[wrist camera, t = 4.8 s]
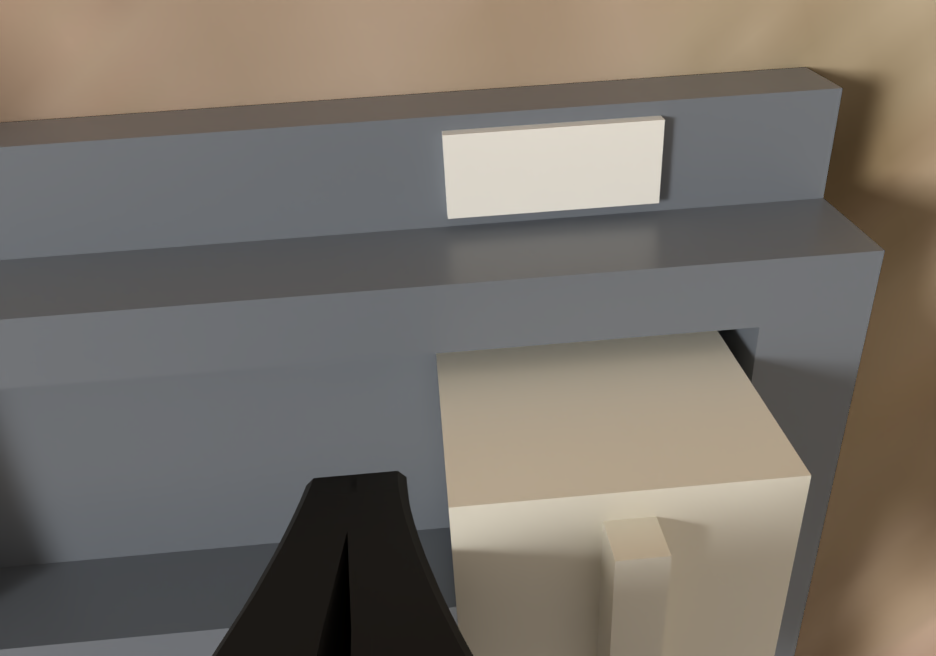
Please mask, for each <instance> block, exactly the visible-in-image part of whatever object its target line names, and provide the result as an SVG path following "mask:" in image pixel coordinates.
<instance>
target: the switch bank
mask: <svg viewBox="0 0 936 656" xmlns="http://www.w3.org/2000/svg"><path fill="white" fill-rule="evenodd" d="M842 89H843V88H842V87H840V86H838V85H836V84H834V83H833V82H831V81H829V80H827V79H826V78H824V77H822V76H820V75H819V74H817V73H815V72H813V71H812V70H810V69H808V68H806V67H801V68H786V69H772V70H757V71H743V72H728V73H714V74H699V75H685V76H670V77H656V78H641V79H627V80H612V81H598V82H583V83H569V84H554V85H540V86H525V87H511V88H496V89H482V90H467V91H453V92H438V93H424V94H409V95H395V96H380V97H366V98H351V99H337V100H322V101H308V102H293V103H279V104H264V105H250V106H235V107H221V108H206V109H192V110H177V111H163V112H148V113H134V114H119V115H105V116H90V117H76V118H61V119H47V120H32V121H18V122H3V123H0V656H212V655H213V653H214V652H215V650H216V649H217V647H218V645H219V644H220V642H221V641H222V639H223V638H224V636H225V635H226V633H227V632H228V630H229V628H230V627H231V625H232V624H233V622H234V621H235V619H236V618H237V616H238V615H239V613H240V611H241V610H242V608H243V607H244V605H245V603H246V602H247V600H248V598H249V597H250V595H251V593H252V591H253V590H254V588H255V586H256V584H257V583H258V581H259V579H260V577H261V576H262V574H263V572H264V570H265V569H266V567H267V565H268V563H269V562H270V560H271V558H272V556H273V554H274V553H275V551H276V549H277V547H278V545H279V543H280V541H281V539H282V537H283V535H284V533H285V531H286V529H287V527H288V525H289V523H290V521H291V519H292V517H293V515H294V513H295V511H296V508H297V506H298V504H299V502H300V499H301V497H302V495H303V492H304V490H305V487H306V485H307V484H308V483H309V482H310V481H311V480H312V479H313V478H320V477H332V476H343V475H355V474H366V473H378V472H389V471H399V472H400V473H402V474H403V475H404V476H406V477H407V486H408V495H409V504H410V508H411V512H412V516H413V520H414V523H415V526H416V529H417V532H418V536H419V539H420V542H421V544H422V547H423V550H424V552H425V555H426V558H427V560H428V563H429V565H430V567H431V570H432V572H433V574H434V577H435V579H436V581H437V584H438V586H439V588H440V591H441V593H442V595H443V597H444V599H445V602H446V604H447V606H448V608H449V610H450V612H451V614H452V616H453V618H454V620H455V622H456V624H457V626H458V620H457V608H456V595H455V583H454V570H453V558H452V545H451V533H450V521H449V508H448V496H447V483H446V471H445V458H444V446H443V433H442V421H441V408H440V396H439V383H438V371H437V359H436V354H437V353H449V352H462V351H474V350H486V349H498V348H511V347H523V346H535V345H547V344H560V343H572V342H584V341H597V340H609V339H621V338H633V337H646V336H658V335H670V334H683V333H695V332H707V331H718V332H719V334H720V335H721V337H722V339H723V340H724V342H725V343H726V345H727V346H728V348H729V349H730V351H731V352H732V354H733V355H734V357H735V359H736V360H737V362H738V363H739V365H740V366H741V368H742V369H743V371H744V372H745V374H746V375H747V377H748V379H749V380H750V382H751V383H752V385H753V386H754V388H755V389H756V391H757V392H758V394H759V395H760V397H761V399H762V400H763V402H764V403H765V405H766V406H767V408H768V409H769V411H770V412H771V414H772V415H773V417H774V419H775V420H776V422H777V423H778V425H779V426H780V428H781V429H782V431H783V432H784V434H785V436H786V437H787V439H788V440H789V442H790V443H791V445H792V446H793V448H794V449H795V451H796V452H797V454H798V456H799V457H800V459H801V460H802V462H803V463H804V465H805V466H806V468H807V469H808V471H809V472H810V474H811V480H810V485H809V490H808V495H807V500H806V504H805V509H804V514H803V519H802V524H801V529H800V534H799V538H798V543H797V548H796V553H795V558H794V563H793V568H792V573H791V577H790V582H789V587H788V592H787V597H786V602H785V607H784V611H783V616H782V621H781V626H780V631H779V636H778V641H777V646H776V650H775V655H774V656H794V655H795V650H796V646H797V641H798V637H799V632H800V628H801V623H802V619H803V614H804V610H805V605H806V601H807V596H808V592H809V587H810V583H811V579H812V574H813V570H814V565H815V561H816V556H817V552H818V547H819V543H820V538H821V534H822V529H823V525H824V520H825V516H826V511H827V507H828V502H829V498H830V494H831V489H832V485H833V480H834V476H835V471H836V467H837V462H838V458H839V453H840V449H841V444H842V440H843V435H844V431H845V426H846V422H847V418H848V413H849V409H850V404H851V400H852V395H853V391H854V386H855V382H856V377H857V373H858V368H859V364H860V359H861V355H862V350H863V346H864V342H865V337H866V333H867V328H868V324H869V319H870V315H871V310H872V306H873V301H874V297H875V292H876V288H877V283H878V279H879V274H880V270H881V265H882V261H883V257H884V252H885V250H884V249H882V248H881V247H880V246H879V245H878V244H877V243H875V242H874V241H873V240H872V239H871V238H870V237H868V236H867V235H866V234H865V233H864V232H862V231H861V230H860V229H859V228H858V227H857V226H855V225H854V224H853V223H852V222H851V221H850V220H848V219H847V218H846V217H845V216H844V215H843V214H841V213H840V212H839V211H838V210H837V209H835V208H834V207H833V206H832V205H831V204H830V203H828V202H827V201H826V200H825V199H824V198H823V197H824V191H825V185H826V180H827V174H828V168H829V163H830V157H831V151H832V146H833V140H834V134H835V129H836V123H837V117H838V112H839V106H840V100H841V95H842Z"/></svg>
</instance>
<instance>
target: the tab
mask: <svg viewBox="0 0 936 656" xmlns="http://www.w3.org/2000/svg"><path fill="white" fill-rule="evenodd" d="M436 359H437V371H438V383H439V396H440V408H441V421H442V433H443V446H444V458H445V471H446V483H447V496H448V508H449V521H450V533H451V545H452V558H453V570H454V583H455V595H456V608H457V620H458V628H459V630H460V632H461V634H462V635H463V637H464V639H465V641H466V643H467V645H468V647H469V649H470V650H471V652H472V654H473V656H774V655H775V650H776V646H777V641H778V636H779V631H780V626H781V621H782V616H783V611H784V607H785V602H786V597H787V592H788V587H789V582H790V577H791V573H792V568H793V563H794V558H795V553H796V548H797V543H798V538H799V534H800V529H801V524H802V519H803V514H804V509H805V504H806V500H807V495H808V490H809V485H810V480H811V474H810V472H809V471H808V469H807V468H806V466H805V465H804V463H803V462H802V460H801V459H800V457H799V456H798V454H797V452H796V451H795V449H794V448H793V446H792V445H791V443H790V442H789V440H788V439H787V437H786V436H785V434H784V432H783V431H782V429H781V428H780V426H779V425H778V423H777V422H776V420H775V419H774V417H773V415H772V414H771V412H770V411H769V409H768V408H767V406H766V405H765V403H764V402H763V400H762V399H761V397H760V395H759V394H758V392H757V391H756V389H755V388H754V386H753V385H752V383H751V382H750V380H749V379H748V377H747V375H746V374H745V372H744V371H743V369H742V368H741V366H740V365H739V363H738V362H737V360H736V359H735V357H734V355H733V354H732V352H731V351H730V349H729V348H728V346H727V345H726V343H725V342H724V340H723V339H722V337H721V335H720V334H719V332H718V331H707V332H695V333H683V334H670V335H658V336H646V337H633V338H621V339H609V340H597V341H584V342H572V343H560V344H547V345H535V346H523V347H511V348H498V349H486V350H474V351H462V352H449V353H437V354H436Z"/></svg>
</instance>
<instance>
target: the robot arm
mask: <svg viewBox="0 0 936 656" xmlns="http://www.w3.org/2000/svg"><path fill="white" fill-rule="evenodd" d="M212 656H473V654H472V652H471V650H470V649H469V647H468V645H467V643H466V641H465V639H464V637H463V635H462V634H461V632H460V630H459V628H458V626H457V624H456V622H455V620H454V618H453V616H452V614H451V612H450V610H449V608H448V606H447V604H446V602H445V599H444V597H443V595H442V593H441V591H440V588H439V586H438V584H437V581H436V579H435V577H434V574H433V572H432V570H431V567H430V565H429V563H428V560H427V558H426V555H425V552H424V550H423V547H422V544H421V542H420V539H419V536H418V532H417V529H416V526H415V523H414V520H413V516H412V512H411V508H410V504H409V495H408V486H407V477H406V476H404V475H403V474H402V473H400V472H399V471H389V472H378V473H366V474H355V475H343V476H332V477H320V478H313V479H312V480H311V481H310V482H309V483H308V484H307V485H306V487H305V490H304V492H303V495H302V497H301V499H300V502H299V504H298V506H297V508H296V511H295V513H294V515H293V517H292V519H291V521H290V523H289V525H288V527H287V529H286V531H285V533H284V535H283V537H282V539H281V541H280V543H279V545H278V547H277V549H276V551H275V553H274V554H273V556H272V558H271V560H270V562H269V563H268V565H267V567H266V569H265V570H264V572H263V574H262V576H261V577H260V579H259V581H258V583H257V584H256V586H255V588H254V590H253V591H252V593H251V595H250V597H249V598H248V600H247V602H246V603H245V605H244V607H243V608H242V610H241V611H240V613H239V615H238V616H237V618H236V619H235V621H234V622H233V624H232V625H231V627H230V628H229V630H228V632H227V633H226V635H225V636H224V638H223V639H222V641H221V642H220V644H219V645H218V647H217V649H216V650H215V652H214V653H213V655H212Z"/></svg>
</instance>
